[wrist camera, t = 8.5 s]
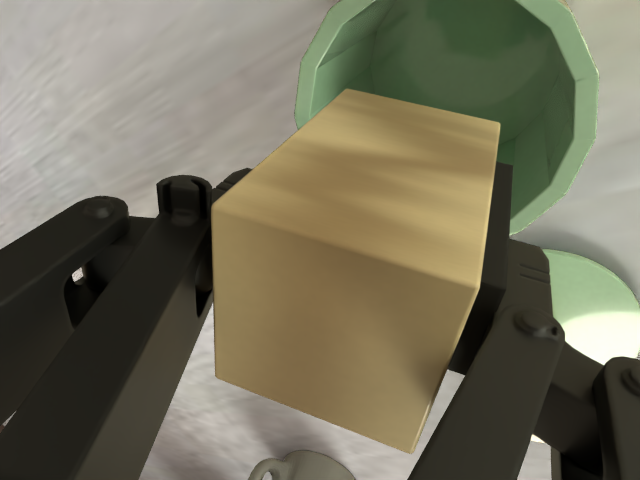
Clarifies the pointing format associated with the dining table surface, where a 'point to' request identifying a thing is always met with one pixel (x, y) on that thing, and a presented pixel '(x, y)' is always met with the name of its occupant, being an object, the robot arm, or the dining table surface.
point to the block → (355, 262)
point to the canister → (470, 78)
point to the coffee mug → (301, 468)
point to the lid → (593, 308)
